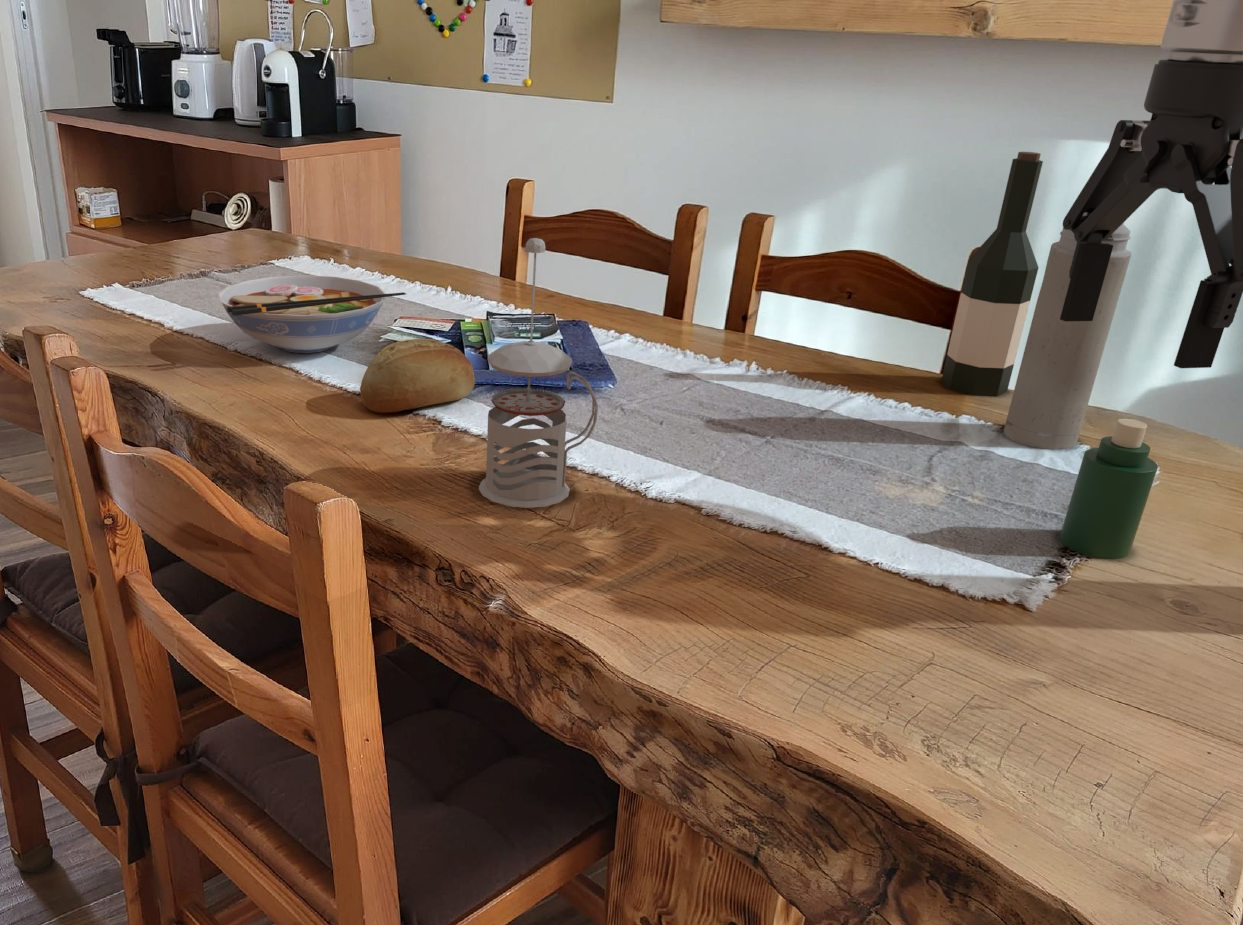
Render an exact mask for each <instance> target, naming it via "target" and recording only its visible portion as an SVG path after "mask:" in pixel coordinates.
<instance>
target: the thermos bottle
mask: <svg viewBox="0 0 1243 925" xmlns="http://www.w3.org/2000/svg"><path fill="white" fill-rule="evenodd" d="M1086 214H1087V212H1085V213H1084V214H1083V215H1086ZM1059 235H1060V238H1059V241H1056V242H1052V243H1051V245H1050V248H1049V253H1048V257H1047V260H1046V266H1045V270H1044V274H1043V279H1042V283H1041V286H1040V289H1039V293H1038V296H1037V300H1036V303H1035V308H1034V312H1033V316H1032V319H1031V322H1030V327H1029V332H1028V335H1027V338H1026V343H1025V346H1024V350H1023V354H1022V358H1021V362H1020V366H1019V370H1018V373H1017V378H1016V382H1015V385H1014V388H1013V393H1012V398H1011V401H1010V405H1009V409H1008V412H1007V416H1006V420H1005V424H1004V429H1003V434H1004V435H1005V437H1007V438H1008V439H1010V440H1012V441H1014V442H1016V443H1018V444H1022V445H1025V446H1029V447H1033V448H1037V449H1044V450H1056V451H1059V450H1060V451H1061V450H1069V449H1070V450H1071V449H1072V448H1075V447H1076V446H1077V445H1078V444H1077V443H1078V440H1079V437H1080V433H1081V430H1082V427H1083V423H1084V420H1085V416H1086V412H1087V409H1088V406H1089V402H1090V398H1091V396H1092V392H1093V388H1094V385H1095V382H1096V378H1097V375H1098V371H1099V369H1100V368H1099V367H1100V364H1101V361H1102V357H1103V354H1104V351H1105V347H1106V343H1107V340H1108V337H1109V333H1110V330H1111V326H1112V322H1113V320H1114V317H1115V312H1116V309H1117V306H1118V302H1119V299H1120V297H1121V296H1120V295H1121V292H1122V288H1123V285H1124V283H1125V282H1124V281H1125V278H1126V274H1127V271H1128V267H1129V266H1130V262H1131V258H1132V251H1130V250H1129V249H1127V246H1128V242H1129V240H1131V230H1130V229H1129V228H1128V227H1127V226H1126V225H1125V222H1124V223H1123V224H1122V225H1121V226H1120V227H1119V228H1118V229H1117V230H1116V231H1115V232H1114V233H1113V234H1112V237H1113V238H1108V239H1114V240H1113V241H1102V242H1101V244H1111V245H1114V246H1113V249H1112V253H1111V256H1110V260H1109V264H1108V267H1107V271H1106V274H1105V278H1104V282H1103V285H1102V289H1101V292H1100V296H1099V299H1098V303H1097V307H1096V310H1095V314H1094V317H1093V321H1063V320H1060V317H1061V313H1062V309H1063V305H1064V302H1065V298H1066V294H1067V290H1068V287H1069V283H1070V279H1071V278H1069V271H1070V267H1071V265H1072V261H1073V256H1074V252H1075V248H1076V245H1077V241H1076V240H1075V238H1074V233H1073V232H1072V231H1071V230H1065V229H1064V228H1063V227H1062V230H1061V231H1060V232H1059Z"/></svg>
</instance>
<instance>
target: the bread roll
mask: <svg viewBox="0 0 1243 925" xmlns="http://www.w3.org/2000/svg"><path fill="white" fill-rule="evenodd" d="M475 385H476V377H475V374H474V367H473V363H472V361H470V359H469V358H468V357H467V355H465V354H464V353H463V352H462V350H460V349H459V348H457V347H455V346H454V345H452V344H448V343H447V342H443V341H440V340H437V339H432V338H412V339H411V338H410V339H405V340H399V341H395V342H393V343H390V344H388V345H386V346H385V347H383V348H382V349H381V350H380V351H378V352H377V354H376V355H375V357H374V358H372V360H371V361H370V363H369V364H368V366H367V368H366V370H365V372H364V374H363V377H362V379H361V383H360V387H359V391H360V394H359V395H360V399H361V402H362V403H363V406H364V407H365V408H367V409H368V410H370V411H372V412H374V413H378V414H379V413H380V414H382V413H384V414H385V413H397V412H403V411H407V410H412V409H417V408H422V407H427V406H431V405H438V404H443V403H449V402H453V401H458V400H461V399H464V398H466V397H467V396H468V395H470V394H471V393H472V391H473V389H474V388H475Z"/></svg>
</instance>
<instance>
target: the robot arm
mask: <svg viewBox="0 0 1243 925" xmlns="http://www.w3.org/2000/svg"><path fill="white" fill-rule="evenodd" d="M1161 39H1162V40H1161V43H1160V48H1161V49H1162V50H1163V51H1165V52H1167V55H1166V59H1159V60H1158V63H1155V64H1154V67H1153V70H1152V73H1151V77H1150V81H1149V85H1148V88H1147V91H1146V95H1145V99H1144V102H1143V107H1144V110H1145V111H1146V112H1148V113H1150V114H1151V117H1150V119H1149V120H1145V119H1144V120H1141V119H1120V120H1118V122H1117V123H1116V125H1115V127H1114V130H1113V133H1112V136H1111V138H1110V141H1109V144H1108V147H1107V149H1106V151H1105V152H1104V154H1103V155H1102V157H1101V158H1100V160H1099V162H1098V163H1097V165H1096V166H1095V168H1094V170H1093V171H1092V174H1091V175H1090V176H1089V178H1088V179H1087V181H1086V182H1085V183H1084V184H1085V185H1083V187H1082V189H1081V191H1080V192H1079V194H1078V195H1077V197H1076V199H1075V201H1074V202H1073V203H1072V205H1071V207H1070V208H1069V209H1068V212H1067V213H1066V215H1065V216H1064V218H1063V220H1062V229H1063V228H1064V229H1065V230H1071V231H1072V232H1073V233H1074V238H1075V240H1076V241H1077V245H1076V248H1075V252H1074V256H1073V261H1072V265H1071V267H1070V271H1069V278H1071V279H1070V283H1069V287H1068V290H1067V294H1066V298H1065V302H1064V305H1063V309H1062V313H1061V317H1060V320H1063V321H1093V317H1094V314H1095V310H1096V307H1097V303H1098V299H1099V296H1100V292H1101V289H1102V285H1103V282H1104V278H1105V274H1106V271H1107V267H1108V264H1109V260H1110V256H1111V253H1112V249H1113V246H1114V245H1111V244H1101V242H1102V241H1113V240H1114V239H1108V238H1113V237H1112V234H1113V233H1114V232H1115V231H1116V230H1117V229H1118V228H1119V227H1120V226H1121V225H1122V224H1123V223H1124V224H1125V222H1126V221H1127V220H1128V219H1129V218H1130V217H1131V216H1132V215H1133V214H1134V213H1135V212H1136V211H1137V210H1138V209H1139V208H1140V207H1141V206H1142V205H1143V204H1144V203H1145V202H1146V201H1147V200H1148V199H1149V198H1150V197H1151V196H1152V195H1153V194H1154V193H1155V192H1157V191H1158V190H1161V189H1162V190H1163V189H1164V190H1165V189H1167V190H1168V191H1170V192H1171V193H1176V194H1183V196H1184V198H1185V200H1186V201H1187V202H1189V203H1191V205H1192V208H1193V211H1194V215H1195V219H1196V223H1197V226H1198V230H1199V234H1200V238H1201V241H1202V245H1203V249H1204V251H1205V256H1206V259H1207V263H1208V267H1209V271H1210V275H1209V276H1207V277H1205V278H1203V280H1200V281H1199V285H1198V288H1197V291H1196V294H1195V297H1194V300H1193V302H1192V303H1193V304H1192V306H1191V309H1190V313H1189V316H1188V318H1187V321H1186V326H1185V329H1184V332H1183V334H1182V338H1181V341H1180V344H1179V347H1178V350H1177V353H1176V357H1175V360H1174V362H1173V366H1174V367H1176V368H1179V369H1205V368H1206V369H1208V368H1210V369H1211V368H1212V366H1213V363H1214V360H1215V358H1216V354H1217V351H1218V349H1219V345H1220V342H1221V340H1222V336H1223V334H1224V330H1225V328H1229V327H1230V326H1231V325H1232V324H1233V322H1234V319H1235V317H1236V313H1237V311H1238V308H1239V305H1240V302H1241V298H1242V297H1243V0H1172V4H1171V7H1170V11H1169V15H1168V18H1167V22H1166V25H1165V29H1164V32H1163V35H1162V38H1161ZM1085 212H1087V214H1086V215H1083V214H1084V213H1085Z"/></svg>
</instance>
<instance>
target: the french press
mask: <svg viewBox="0 0 1243 925" xmlns="http://www.w3.org/2000/svg"><path fill="white" fill-rule="evenodd" d="M524 247H525V248H524V251H525V252H527V253H531V254H533V271H532V272H533V273H532V293H531V312H530V313H531V314H530V334H529V340H522V341H517V342H511V343H508V344H505V345H502V346H499V348H497V349H495V350H493V351H492V352H490V353H489V355H488V357H487V362H488V363H489V365H490V367H492V369H494V370H496V371H497V372H500V373H502V374H507V375H511V376H515V377H516V376H518V377H527V378H528V380H527V387H526V388H525V387H523V388H522V387H516V388H515V387H514V388H508V389H505V390H504V389H503V390H502V391H498V392H496V393H494V394H493V395H492V397H491V399H490V401H491V403H492V404H493V406H494V407H492V408H491V409H490V410H488V413H487V437H486V465H485V466H486V470H485V471H486V472H485V478H483V480H481V481H480V484H479V486H478V491H479V492H480V493H481V495H482V496H483V497H484V498H486V499H488V500H489V501H491V502H493V503H496V504H500V505H503V506H507V507H513V508H527V509H530V508H542V507H543V508H544V507H545V508H546V507H548V506H549V507H550V506H552V505H555V504H558V503H561V502H563V501H564V500H565V499H566V498H568V497H569V494H570V490H571V489H570V487H569V486H568V485H567V484H566V472H567V456H568V452H569V451H570V450H572V449H574V448H577V447H578V446H580V445H582V444H583V443H584V442H585V441H586V440H587V439H588V438H590V436H591V434H592V433H593V431H594V429H595V427H596V424H597V421H598V410H599V409H598V408H599V406H598V400H597V396H596V395H595V393H594V390H593V389H592V386H591V383H590V382H589V381H587V379H586V378H585V377H583V376H582V375H580V374H578V373H577V372H576V371H569V370H570V368H571V366H572V364H573V358H571V357H570V356H569V355H568V354H567V353H566V352H564V350H562V349H560V348H557V347H555V346H553V345H551V344H549V343H547V342H543V341H535V340H533V334H534V312H535V295H536V294H535V292H536V291H535V290H536V273H537V272H536V270H537V269H536V268H537V254H542V253H546V242H545V241H544V240H543V239H542V238H537V237H532V238H529V239H527V241H526V243H525V246H524ZM567 371H568V372H567ZM565 372H567V374H566V378H565V379H566V380H565V381H566V388H567V390H568V391H570V390H571V389H572V381H577V382H579V383H581V384H583V385H584V386H585V388H586V389H587V390H588V391H589V393H590V395H591V400H592V402H591V403H592V406H591V408H592V409H591V415H590V418H589V420H588V422H587V424H586V426H585V427H584V430H583V431H581V432H579V434H577V435H575V436H574V437H571V438H570V439H569V438H568V439H567V440H566V434H567V433H566V432H567V421H568V420H567V419H568V418H567V414H566V413H565V411H564V410H563V409H564V407H565V405H566V404H565V403H566V400H565V399H564V398H563V397H562V395H560V394H558V393H555V392H553V391H551V390H547V389H546V390H544V389H542V390H541V388H536V389H535V388H532V387H531V378H538V377H539V378H540V377H551V376H557V375H561V374H563V373H565ZM571 375H573V376H571ZM570 376H571V377H570ZM519 416H525V417H526V416H527V417H531V418H524V419H520V420H519V421H516V422H514V423H512V424H511V425H505V424H507V423H508V422H510V421H511V420H513V419H515V418H517V417H519ZM538 416H544V417H546V418H547V419H548V420H550V421H551V422H552V423H551V424H552V425H550V424H549V423H547V422H546V421H543V420H541V419H537V418H535V417H538ZM591 424H592V425H591ZM532 425H534V426H537V427H540V428H525V427H527V426H532ZM590 426H591V427H590ZM522 427H524V428H522ZM589 428H590V429H589ZM588 430H589V431H588ZM587 432H588V433H587ZM585 433H587V435H586V436H585V437H584V438H582V439H581V440H580V441H578V442H576V443H574V444H572V445H569V446H568V447H567V448H566V446H567V445H568V444H570V443H572V442H574V441H576V440H578V439H579V438H581V437H582V436H583V435H584V434H585ZM537 440H542V441H544V442H545V443H547V444H541V443H538V442H535V441H537ZM504 448H509V449H508V450H506V451H504V452H499V451H500V450H502V449H504ZM540 452H541V453H543V454H545V455H546V456H548V457H544V456H542V455H538V454H536V453H540ZM500 461H505V463H503V464H501V465H500V464H499V462H500Z"/></svg>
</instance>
